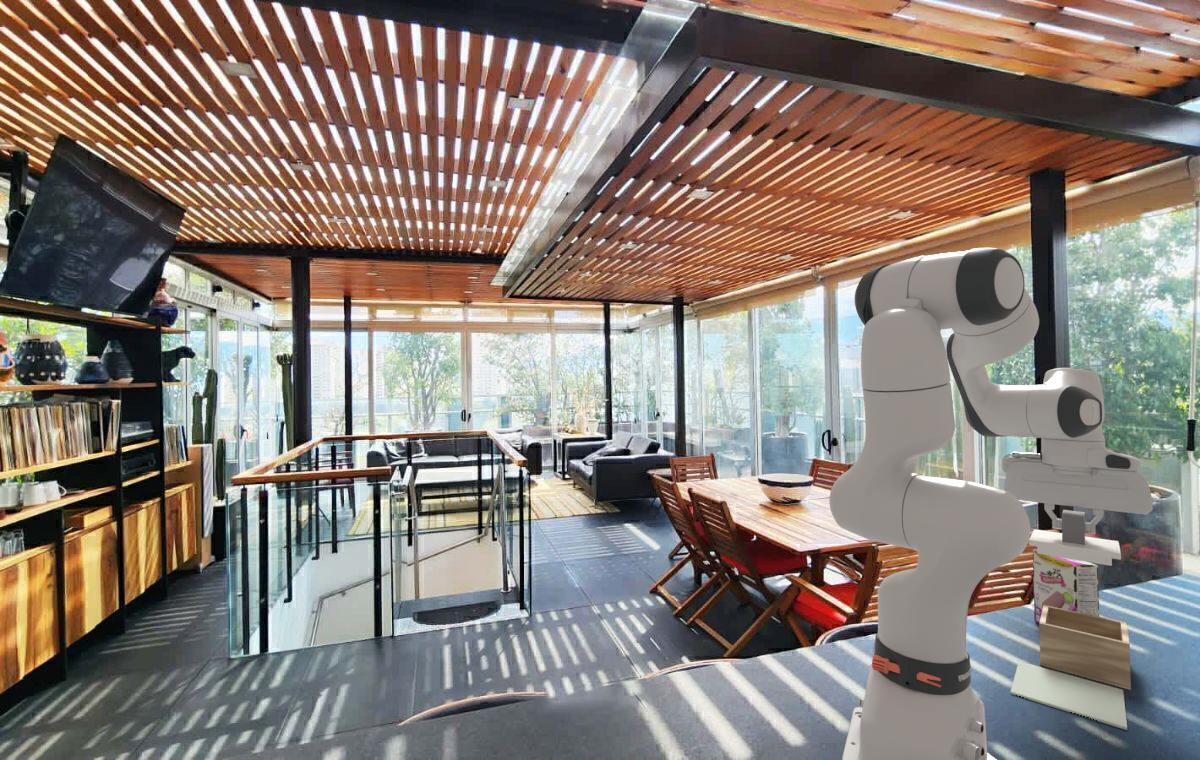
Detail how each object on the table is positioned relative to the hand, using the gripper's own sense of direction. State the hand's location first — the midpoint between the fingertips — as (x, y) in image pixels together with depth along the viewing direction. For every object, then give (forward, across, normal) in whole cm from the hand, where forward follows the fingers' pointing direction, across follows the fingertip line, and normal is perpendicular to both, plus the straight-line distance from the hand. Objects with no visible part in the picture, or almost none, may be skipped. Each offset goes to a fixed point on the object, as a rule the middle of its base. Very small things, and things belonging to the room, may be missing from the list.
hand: (1073, 530), depth 96 cm
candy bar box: (+26, -2, +21) cm, 33 cm away
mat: (+26, -1, -9) cm, 28 cm away
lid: (+4, 0, 0) cm, 4 cm away
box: (+26, +1, +6) cm, 27 cm away
